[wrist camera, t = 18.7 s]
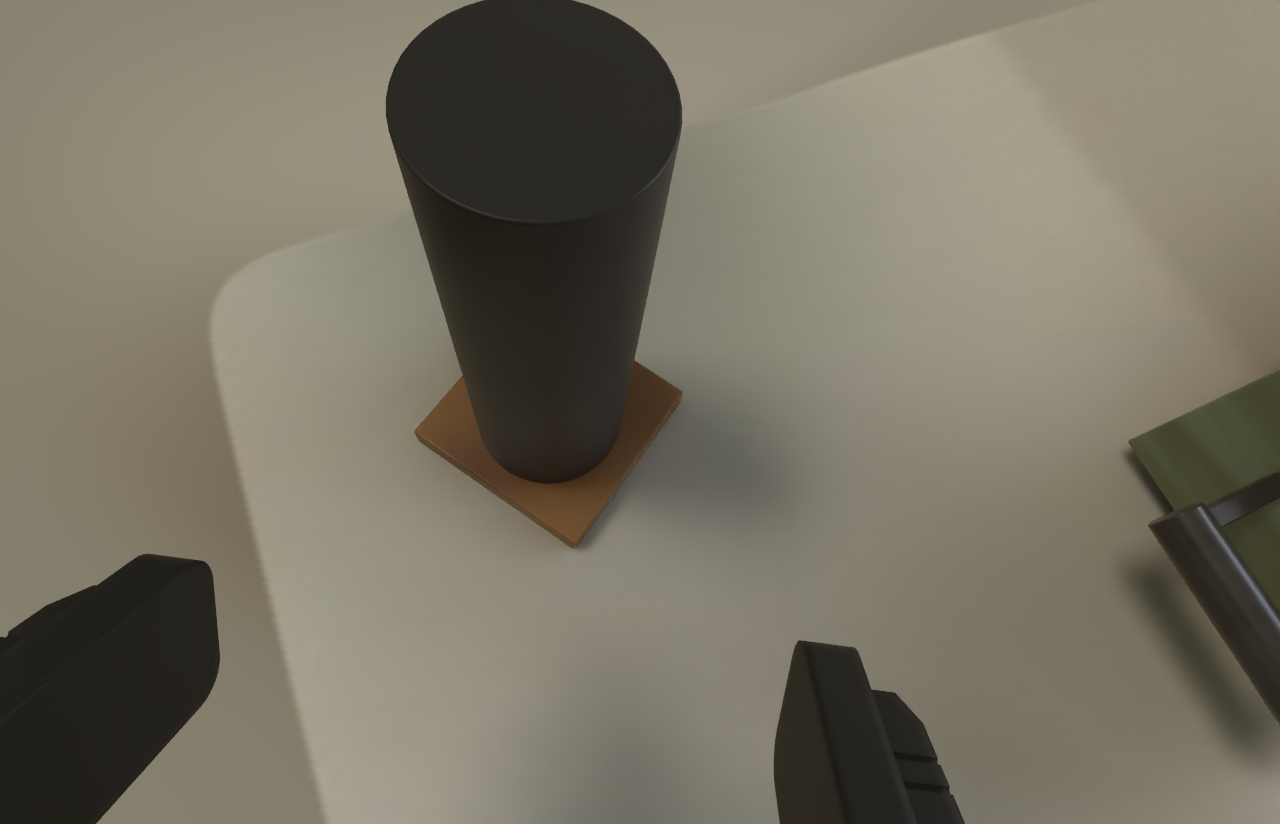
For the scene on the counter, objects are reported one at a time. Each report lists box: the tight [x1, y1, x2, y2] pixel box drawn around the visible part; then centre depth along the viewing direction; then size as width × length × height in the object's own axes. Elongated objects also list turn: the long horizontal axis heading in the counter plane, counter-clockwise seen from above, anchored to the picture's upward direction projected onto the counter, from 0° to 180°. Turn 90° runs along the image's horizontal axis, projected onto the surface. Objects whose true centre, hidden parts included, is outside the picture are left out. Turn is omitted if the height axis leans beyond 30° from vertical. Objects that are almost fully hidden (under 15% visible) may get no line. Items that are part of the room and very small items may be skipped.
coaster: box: [414, 361, 683, 549], centre depth 24 cm, size 6×6×1 cm
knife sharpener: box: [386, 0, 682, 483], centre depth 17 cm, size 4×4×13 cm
